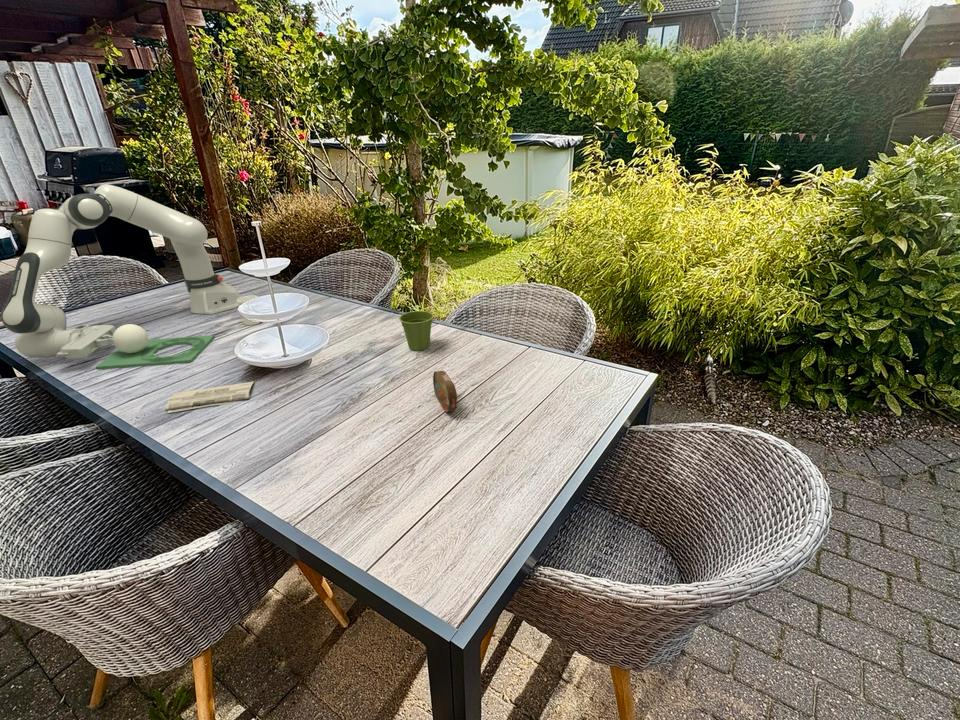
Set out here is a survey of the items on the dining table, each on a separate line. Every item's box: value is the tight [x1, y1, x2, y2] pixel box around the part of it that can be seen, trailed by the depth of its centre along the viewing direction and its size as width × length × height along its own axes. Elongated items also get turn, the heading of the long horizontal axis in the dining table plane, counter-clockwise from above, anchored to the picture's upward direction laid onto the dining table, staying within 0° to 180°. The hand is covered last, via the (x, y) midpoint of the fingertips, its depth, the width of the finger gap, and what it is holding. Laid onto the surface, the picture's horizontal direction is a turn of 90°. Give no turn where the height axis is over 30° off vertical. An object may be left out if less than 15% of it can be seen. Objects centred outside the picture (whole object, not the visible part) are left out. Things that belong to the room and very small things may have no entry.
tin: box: [432, 370, 458, 413], centre depth 133 cm, size 15×3×8 cm, turn 21°
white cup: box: [237, 294, 260, 326], centre depth 191 cm, size 8×8×10 cm
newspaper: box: [164, 380, 256, 414], centre depth 141 cm, size 23×12×2 cm, turn 105°
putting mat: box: [95, 334, 216, 370], centre depth 170 cm, size 30×21×1 cm
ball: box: [113, 323, 149, 353], centre depth 166 cm, size 10×10×10 cm
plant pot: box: [398, 310, 435, 351], centre depth 166 cm, size 12×12×11 cm
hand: (115, 339), depth 166 cm, fingers closed
